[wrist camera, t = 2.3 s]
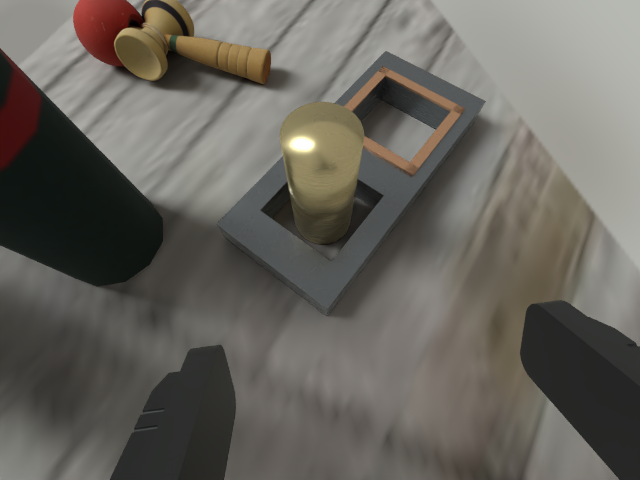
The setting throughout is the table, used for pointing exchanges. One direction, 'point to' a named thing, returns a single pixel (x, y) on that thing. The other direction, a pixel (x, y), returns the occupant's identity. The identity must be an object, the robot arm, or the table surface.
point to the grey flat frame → (372, 184)
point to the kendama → (158, 39)
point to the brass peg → (322, 168)
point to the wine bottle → (66, 192)
